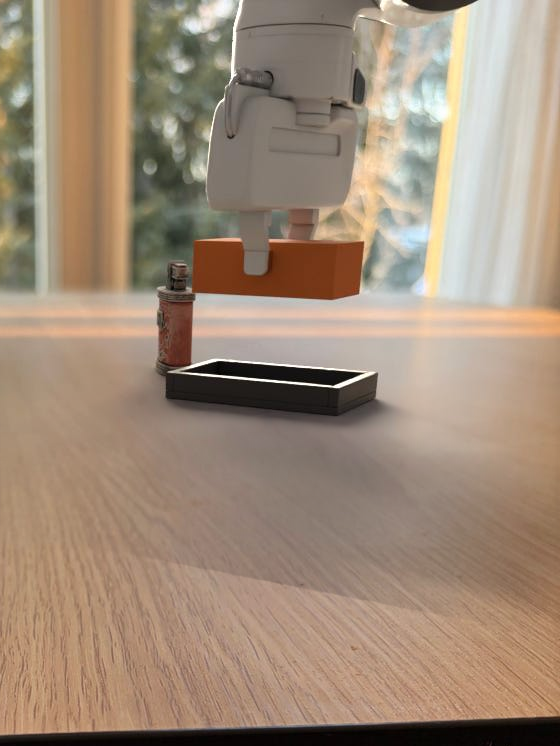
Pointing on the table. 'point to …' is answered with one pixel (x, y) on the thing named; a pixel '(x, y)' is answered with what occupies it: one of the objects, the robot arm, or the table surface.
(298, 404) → the frame
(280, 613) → the table surface
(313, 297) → the block
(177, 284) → the lighter
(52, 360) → the table surface
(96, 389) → the table surface
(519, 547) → the table surface
